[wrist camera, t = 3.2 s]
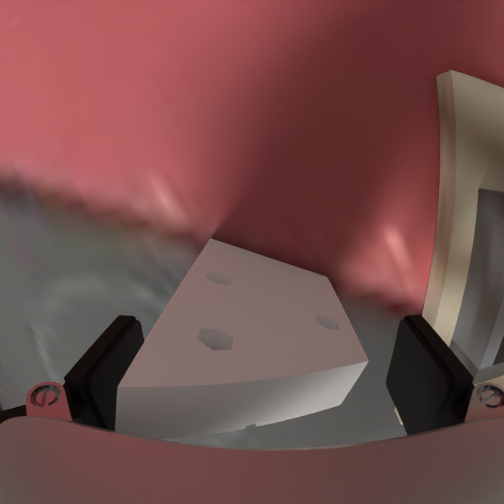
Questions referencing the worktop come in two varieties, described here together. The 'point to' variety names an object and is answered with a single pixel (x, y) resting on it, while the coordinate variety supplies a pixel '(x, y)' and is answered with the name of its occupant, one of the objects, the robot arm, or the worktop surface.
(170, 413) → the white wedge bracket
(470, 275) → the board
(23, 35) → the worktop surface
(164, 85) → the worktop surface
